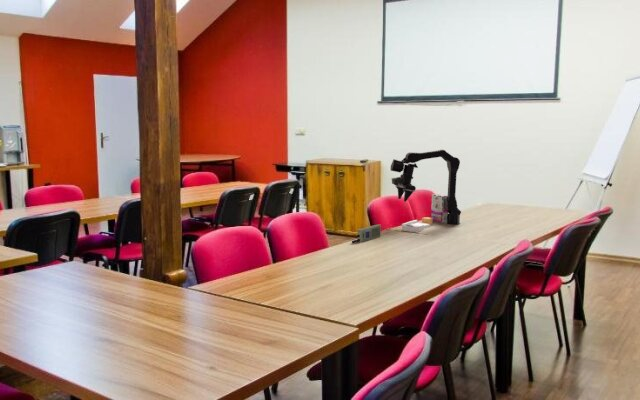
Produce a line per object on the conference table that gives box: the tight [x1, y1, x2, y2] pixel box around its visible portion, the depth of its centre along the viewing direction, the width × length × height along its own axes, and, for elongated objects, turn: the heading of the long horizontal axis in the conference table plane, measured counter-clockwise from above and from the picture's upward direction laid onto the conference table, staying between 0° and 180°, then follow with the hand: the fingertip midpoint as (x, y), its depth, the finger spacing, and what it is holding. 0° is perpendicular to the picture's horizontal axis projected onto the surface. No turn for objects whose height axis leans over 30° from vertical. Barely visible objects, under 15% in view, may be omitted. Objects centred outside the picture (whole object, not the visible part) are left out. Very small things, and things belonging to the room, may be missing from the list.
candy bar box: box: [430, 193, 449, 224], centre depth 357 cm, size 11×5×16 cm, turn 26°
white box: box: [401, 219, 431, 233], centre depth 334 cm, size 10×18×4 cm, turn 144°
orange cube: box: [421, 216, 434, 225], centre depth 344 cm, size 4×4×4 cm
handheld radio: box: [351, 223, 382, 244], centre depth 303 cm, size 7×3×25 cm
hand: (401, 200), depth 344 cm, fingers open, 9 cm apart
